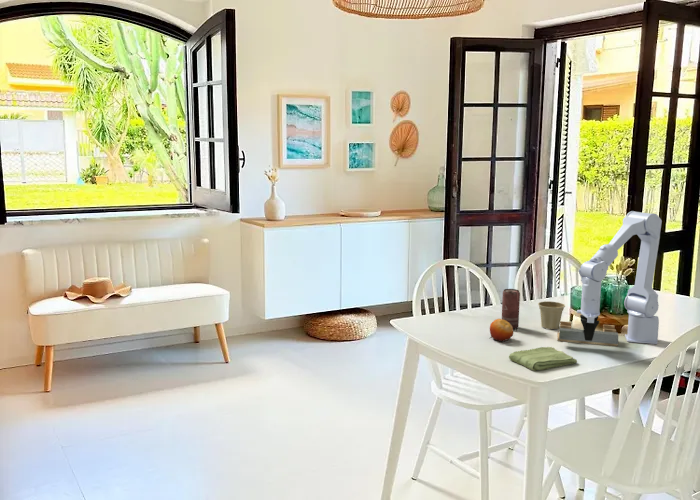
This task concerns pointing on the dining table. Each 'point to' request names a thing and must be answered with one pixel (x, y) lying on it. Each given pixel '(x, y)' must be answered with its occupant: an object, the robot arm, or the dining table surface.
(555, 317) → the flower pot
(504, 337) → the fruit
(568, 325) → the tan piece
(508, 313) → the can
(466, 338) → the dining table surface
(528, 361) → the washcloth
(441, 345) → the dining table surface
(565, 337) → the rail
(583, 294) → the robot arm
